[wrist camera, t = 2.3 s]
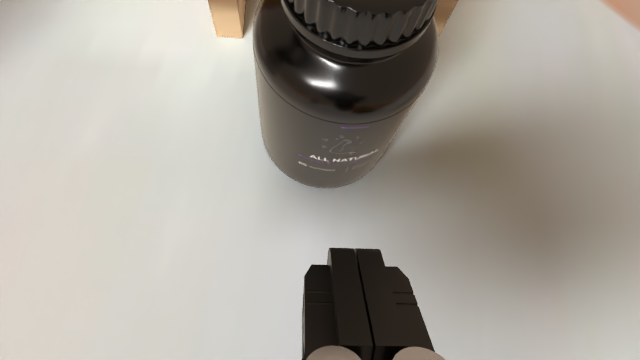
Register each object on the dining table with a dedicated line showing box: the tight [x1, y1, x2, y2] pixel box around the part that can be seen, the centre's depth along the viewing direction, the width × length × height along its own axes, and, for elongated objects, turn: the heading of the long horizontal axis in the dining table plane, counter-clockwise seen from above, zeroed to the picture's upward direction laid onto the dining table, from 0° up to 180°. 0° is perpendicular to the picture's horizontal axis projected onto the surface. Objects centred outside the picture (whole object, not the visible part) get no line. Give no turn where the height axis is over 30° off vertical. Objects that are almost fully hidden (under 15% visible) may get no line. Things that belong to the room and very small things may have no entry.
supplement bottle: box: [253, 0, 439, 188], centre depth 16 cm, size 7×7×12 cm
